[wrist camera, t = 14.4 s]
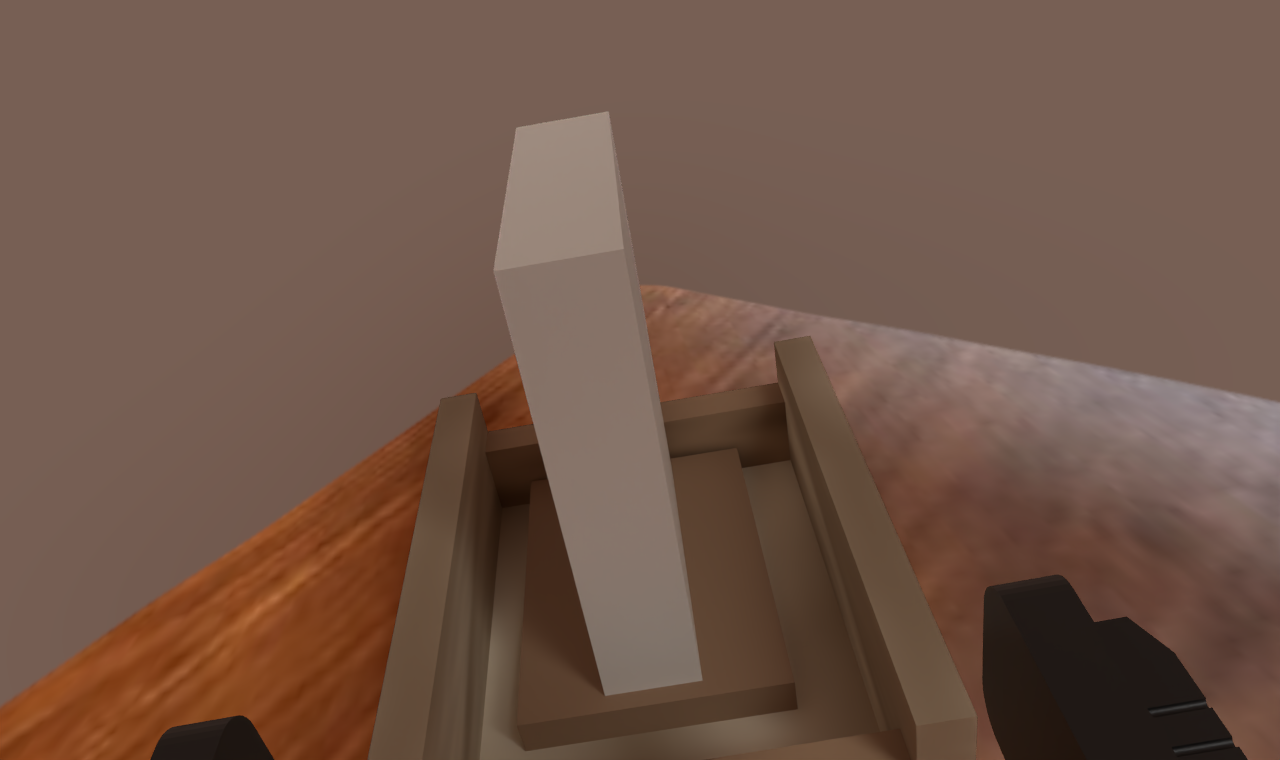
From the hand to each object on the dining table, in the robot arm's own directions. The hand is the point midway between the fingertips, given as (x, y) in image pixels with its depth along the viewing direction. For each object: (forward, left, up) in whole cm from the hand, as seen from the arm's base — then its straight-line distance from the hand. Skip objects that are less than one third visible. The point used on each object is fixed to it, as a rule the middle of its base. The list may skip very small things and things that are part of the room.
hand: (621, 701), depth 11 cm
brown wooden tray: (0, -13, -13) cm, 18 cm away
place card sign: (+1, -14, -12) cm, 19 cm away
